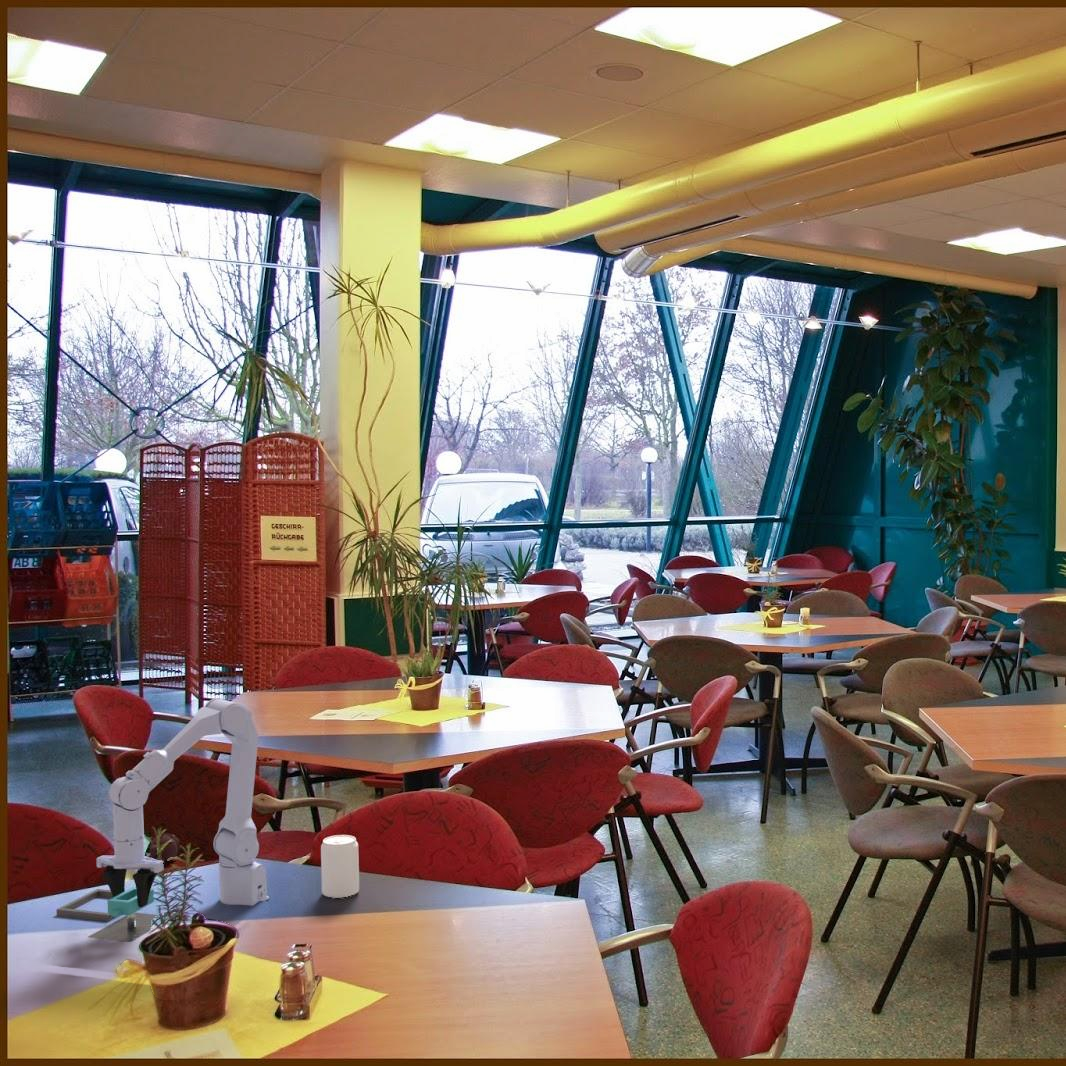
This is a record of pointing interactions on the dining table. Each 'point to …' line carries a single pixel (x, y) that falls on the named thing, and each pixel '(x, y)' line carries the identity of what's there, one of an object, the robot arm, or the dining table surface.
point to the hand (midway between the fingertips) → (131, 904)
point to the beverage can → (340, 866)
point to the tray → (72, 912)
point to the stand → (126, 928)
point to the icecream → (168, 851)
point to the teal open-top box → (126, 903)
